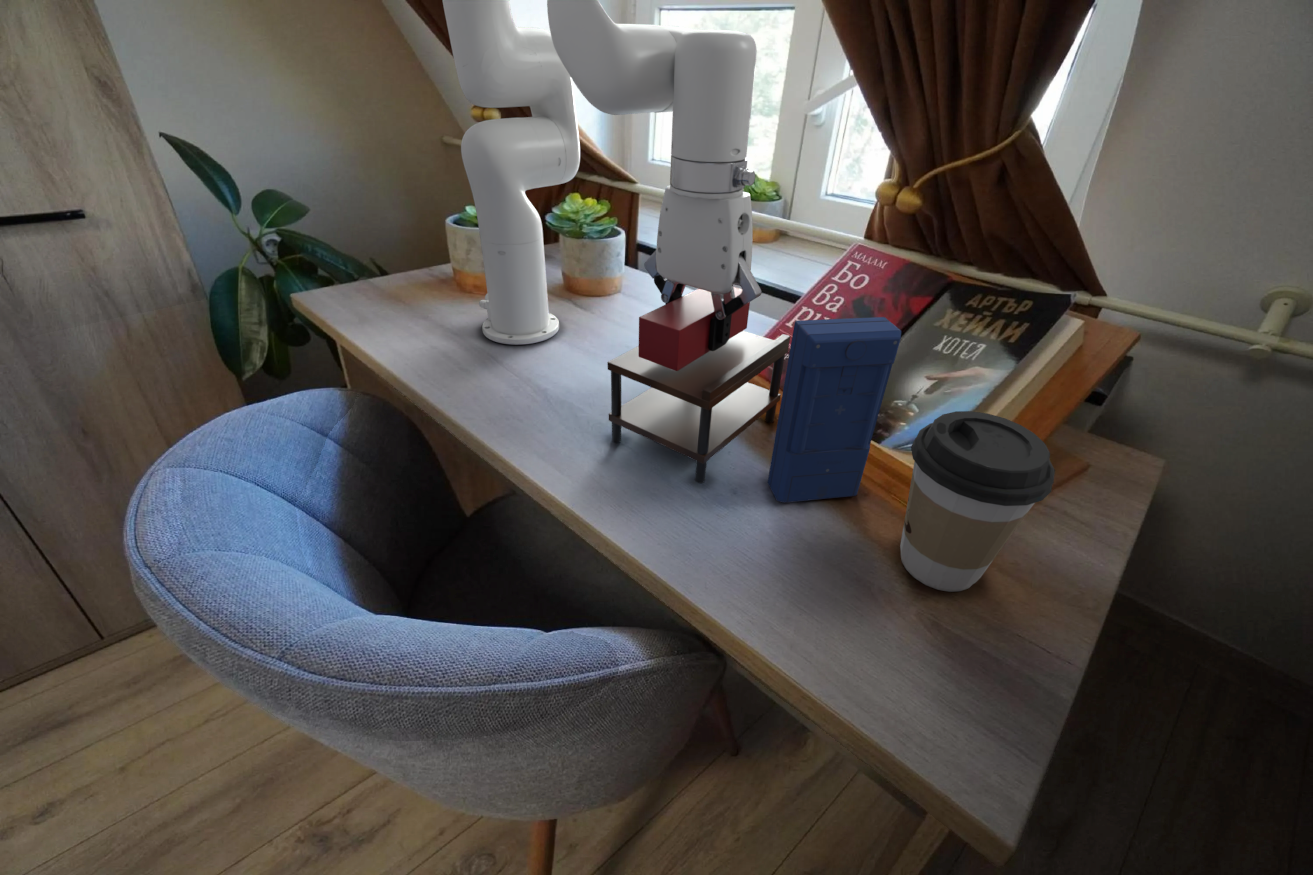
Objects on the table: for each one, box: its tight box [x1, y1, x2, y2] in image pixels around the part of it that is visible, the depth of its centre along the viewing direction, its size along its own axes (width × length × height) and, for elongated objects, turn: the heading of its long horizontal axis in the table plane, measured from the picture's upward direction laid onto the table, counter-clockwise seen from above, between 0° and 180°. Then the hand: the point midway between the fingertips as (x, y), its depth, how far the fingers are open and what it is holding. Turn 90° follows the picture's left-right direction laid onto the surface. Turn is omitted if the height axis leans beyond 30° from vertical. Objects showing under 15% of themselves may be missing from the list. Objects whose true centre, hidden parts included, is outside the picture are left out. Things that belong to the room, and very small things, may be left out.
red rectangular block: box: [638, 286, 751, 371], centre depth 70 cm, size 5×15×5 cm, turn 143°
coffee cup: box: [899, 410, 1056, 593], centre depth 55 cm, size 11×11×15 cm
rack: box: [607, 330, 791, 484], centre depth 75 cm, size 14×18×12 cm
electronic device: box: [767, 316, 902, 503], centre depth 63 cm, size 10×5×20 cm, turn 100°
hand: (695, 338), depth 72 cm, fingers closed on red rectangular block, 5 cm apart
